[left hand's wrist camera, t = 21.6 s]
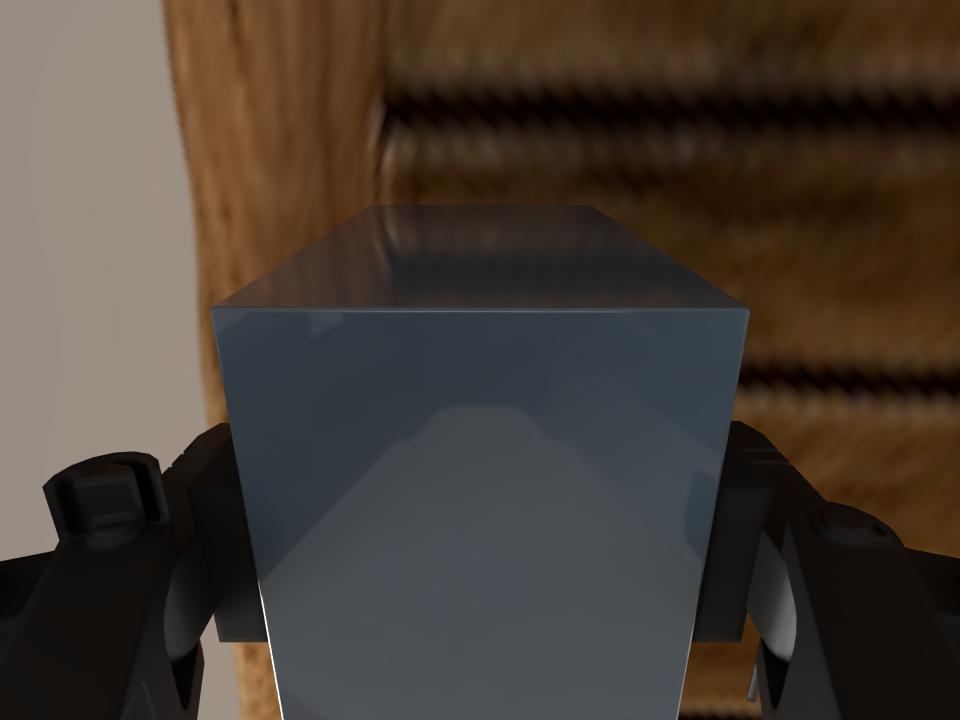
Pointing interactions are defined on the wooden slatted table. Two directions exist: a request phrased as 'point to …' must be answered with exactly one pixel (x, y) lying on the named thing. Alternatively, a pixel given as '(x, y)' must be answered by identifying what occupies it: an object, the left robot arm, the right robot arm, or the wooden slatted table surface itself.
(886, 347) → the wooden slatted table surface
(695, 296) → the brick
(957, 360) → the wooden slatted table surface
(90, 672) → the left robot arm
